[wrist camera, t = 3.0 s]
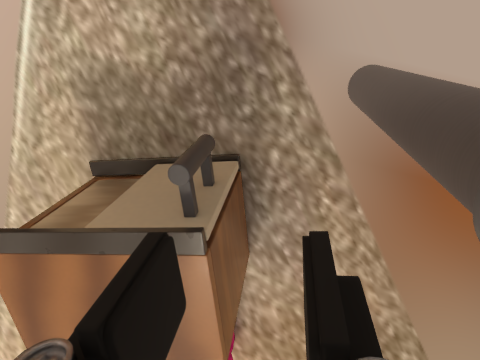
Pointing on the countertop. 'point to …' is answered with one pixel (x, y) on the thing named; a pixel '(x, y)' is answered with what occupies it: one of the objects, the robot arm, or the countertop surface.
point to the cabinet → (122, 263)
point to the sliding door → (175, 193)
